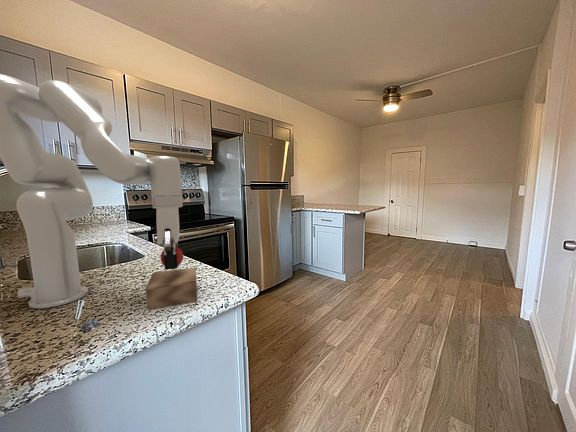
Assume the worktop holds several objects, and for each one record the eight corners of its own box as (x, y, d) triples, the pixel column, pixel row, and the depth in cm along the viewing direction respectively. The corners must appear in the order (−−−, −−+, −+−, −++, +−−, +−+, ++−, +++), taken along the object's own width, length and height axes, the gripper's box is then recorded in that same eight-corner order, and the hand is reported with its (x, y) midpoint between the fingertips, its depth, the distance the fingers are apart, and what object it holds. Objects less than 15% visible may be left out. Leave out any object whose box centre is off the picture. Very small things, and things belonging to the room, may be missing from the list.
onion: (175, 273, 67) (173, 245, 66) (156, 272, 68) (154, 244, 67) (188, 266, 73) (186, 240, 71) (170, 265, 74) (168, 239, 73)
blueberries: (67, 344, 51) (66, 336, 51) (68, 325, 57) (67, 317, 57) (107, 332, 56) (106, 324, 55) (104, 315, 62) (103, 308, 61)
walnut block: (147, 309, 64) (145, 287, 63) (154, 291, 75) (153, 272, 74) (196, 301, 68) (195, 280, 67) (196, 285, 79) (195, 267, 78)
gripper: (157, 200, 75) (161, 258, 77) (146, 204, 59) (152, 277, 61) (183, 200, 77) (187, 255, 79) (180, 203, 61) (185, 273, 63)
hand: (172, 264), depth 70 cm, fingers closed on onion, 5 cm apart
